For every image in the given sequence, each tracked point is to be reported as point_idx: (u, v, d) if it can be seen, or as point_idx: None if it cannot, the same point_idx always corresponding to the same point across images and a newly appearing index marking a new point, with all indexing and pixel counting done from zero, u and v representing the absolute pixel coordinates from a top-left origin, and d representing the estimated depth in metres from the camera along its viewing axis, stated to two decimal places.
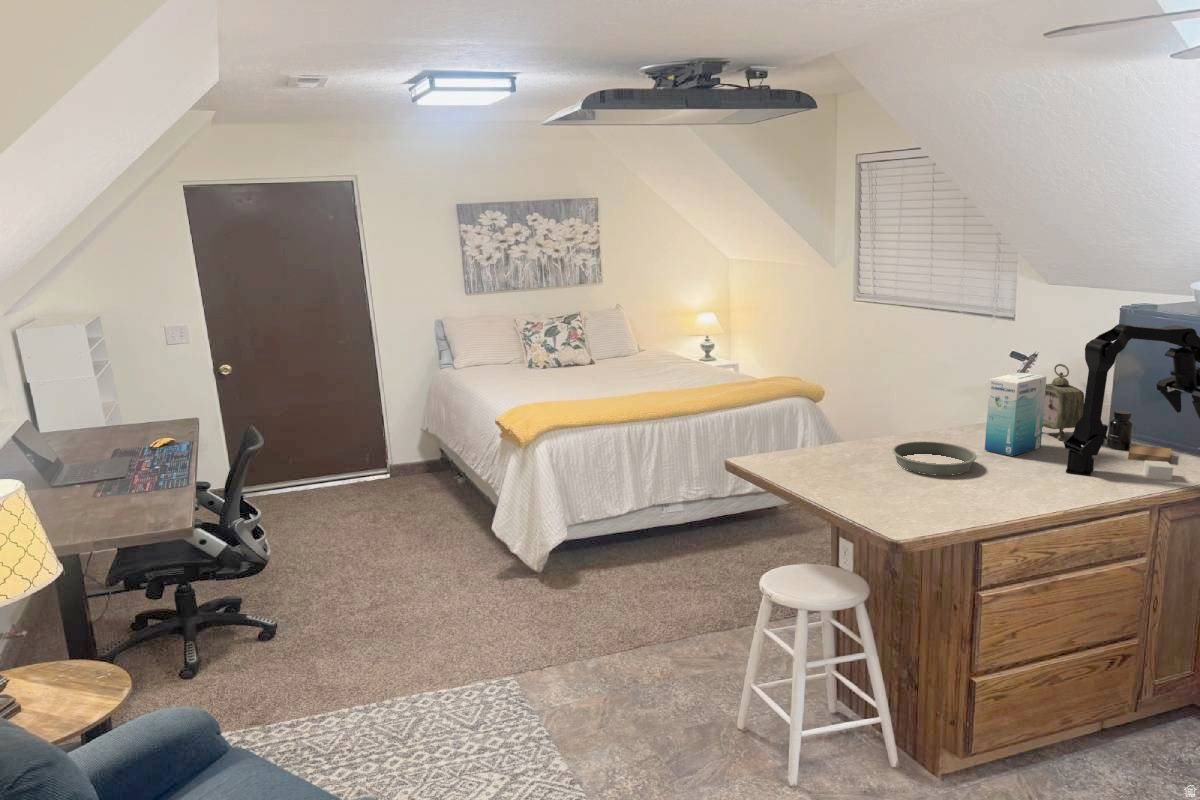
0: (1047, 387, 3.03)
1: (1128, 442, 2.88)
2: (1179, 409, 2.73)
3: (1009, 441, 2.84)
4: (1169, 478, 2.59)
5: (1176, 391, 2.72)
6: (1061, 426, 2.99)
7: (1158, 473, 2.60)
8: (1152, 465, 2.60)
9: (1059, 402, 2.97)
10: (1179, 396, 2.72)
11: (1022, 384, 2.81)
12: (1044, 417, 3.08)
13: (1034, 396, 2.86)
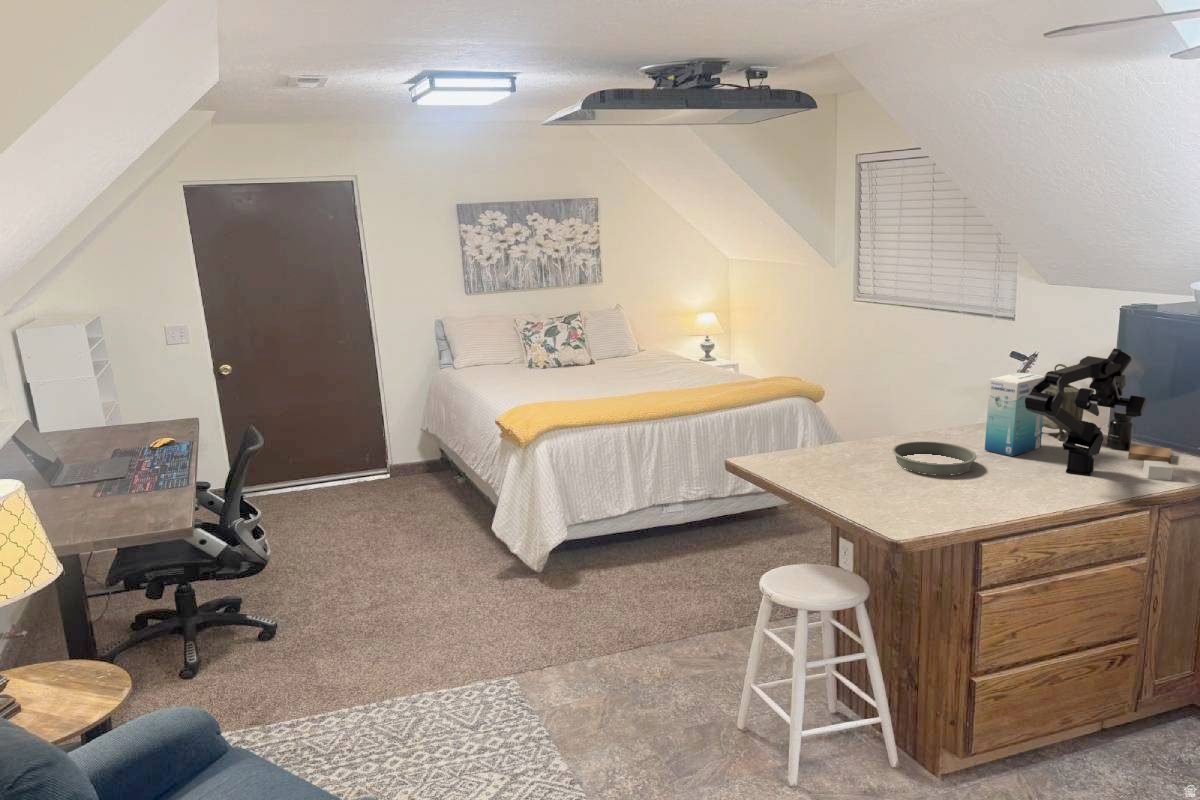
0: None
1: (1128, 442, 2.88)
2: (1098, 413, 2.80)
3: (1009, 441, 2.84)
4: (1169, 478, 2.59)
5: None
6: None
7: (1158, 473, 2.60)
8: (1152, 465, 2.60)
9: None
10: None
11: (1022, 384, 2.81)
12: (1044, 417, 3.08)
13: None
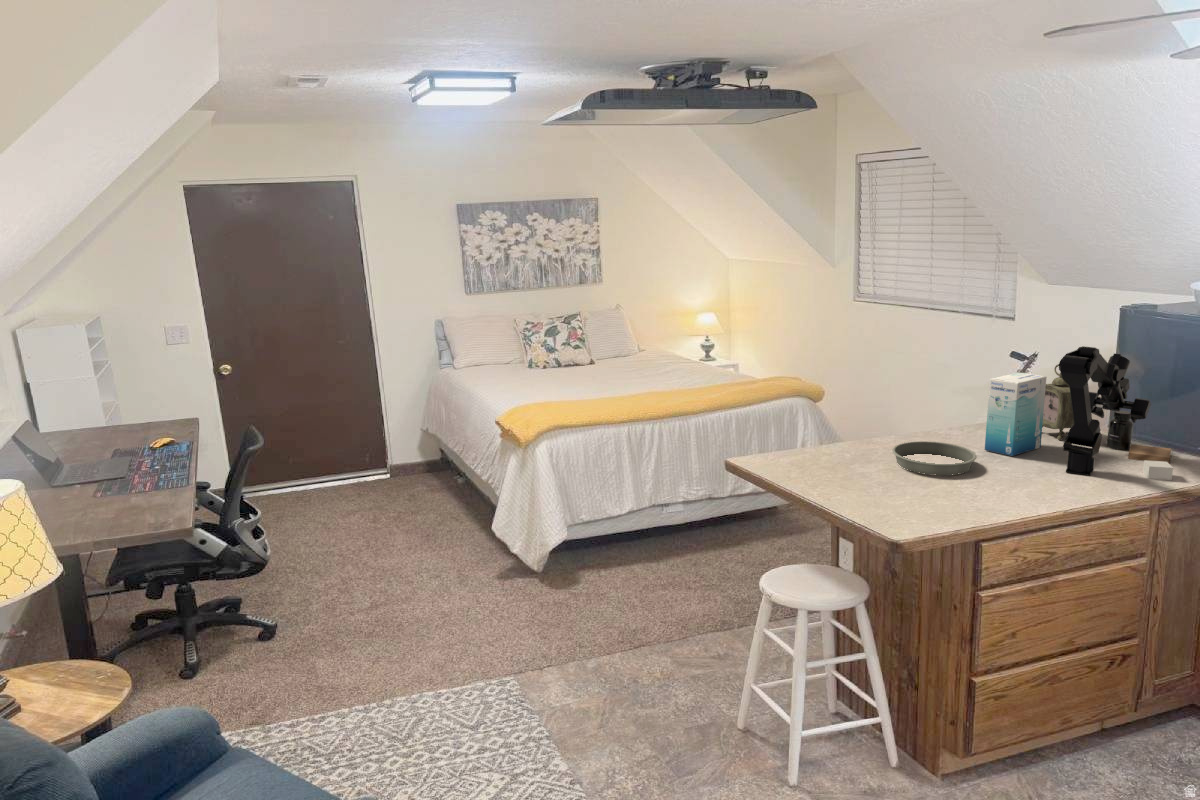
0: (1047, 387, 3.03)
1: (1128, 442, 2.88)
2: (1103, 415, 2.90)
3: (1009, 441, 2.84)
4: (1169, 478, 2.59)
5: None
6: (1061, 426, 2.99)
7: (1158, 473, 2.60)
8: (1152, 465, 2.60)
9: (1059, 402, 2.97)
10: None
11: (1022, 384, 2.81)
12: (1044, 417, 3.08)
13: (1034, 396, 2.86)
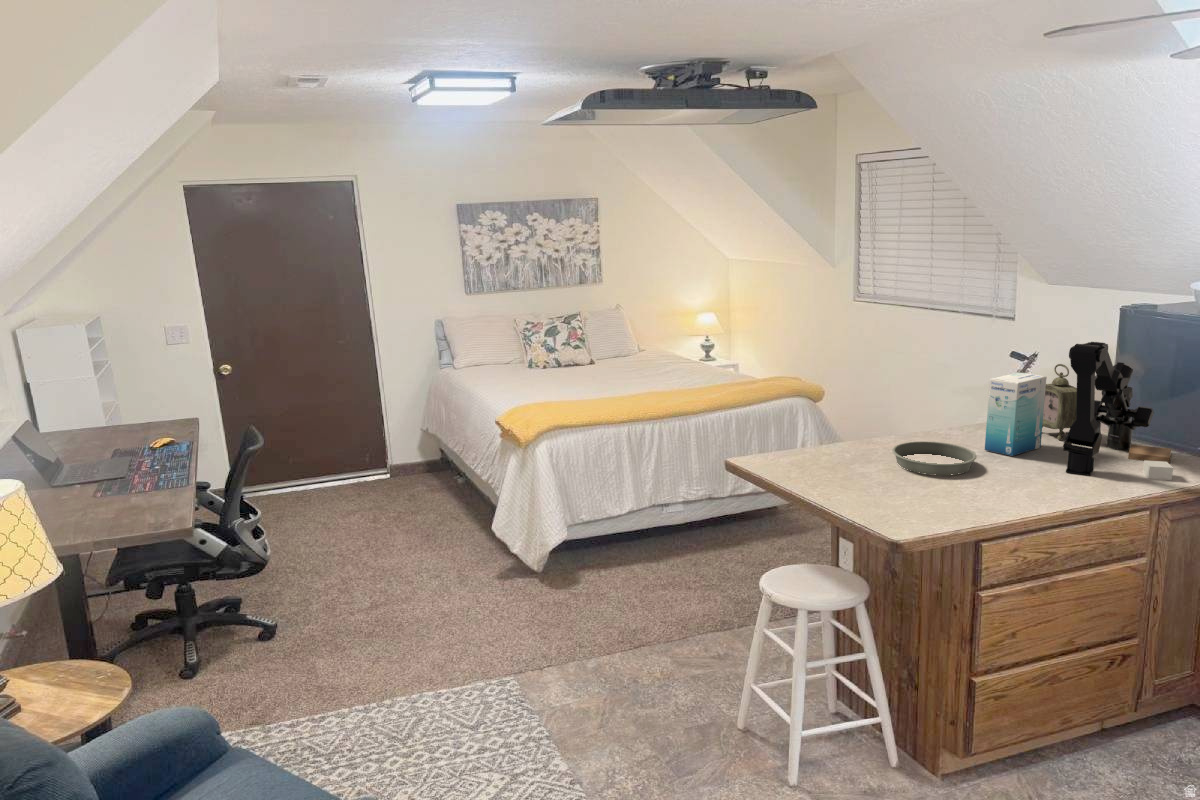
0: (1047, 387, 3.03)
1: (1128, 442, 2.88)
2: None
3: (1009, 441, 2.84)
4: (1169, 478, 2.59)
5: None
6: (1061, 426, 2.99)
7: (1158, 473, 2.60)
8: (1152, 465, 2.60)
9: (1059, 402, 2.97)
10: None
11: (1022, 384, 2.81)
12: (1044, 417, 3.08)
13: (1034, 396, 2.86)
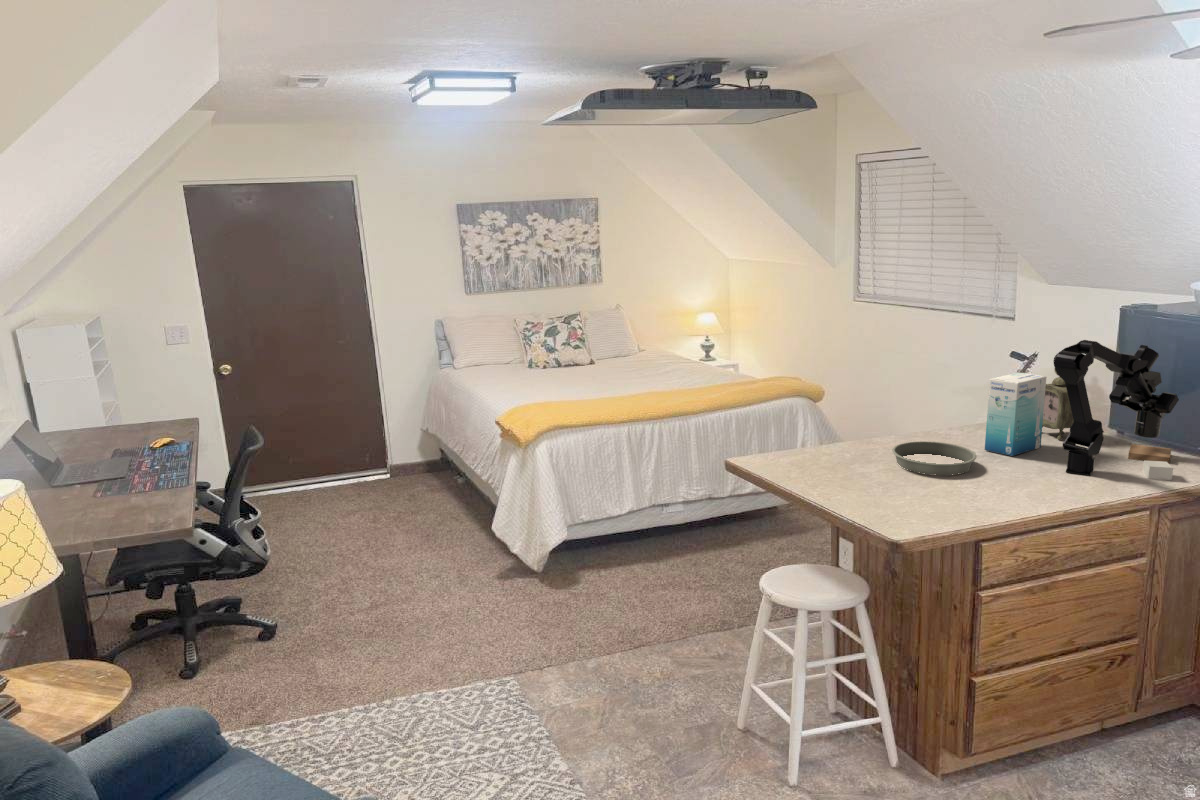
0: (1047, 387, 3.03)
1: (1155, 430, 2.78)
2: None
3: (1009, 441, 2.84)
4: (1169, 478, 2.59)
5: None
6: (1061, 426, 2.99)
7: (1158, 473, 2.60)
8: (1152, 465, 2.60)
9: (1059, 402, 2.97)
10: None
11: (1022, 384, 2.81)
12: (1044, 417, 3.08)
13: (1034, 396, 2.86)
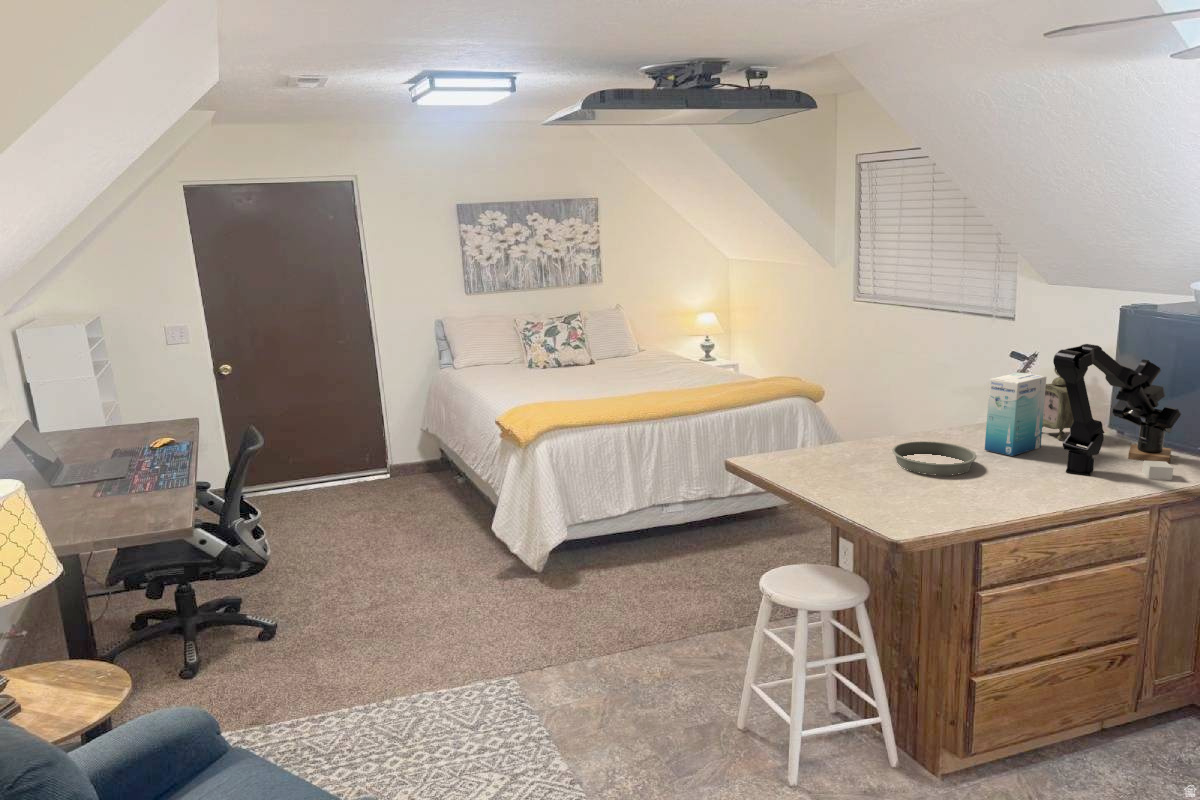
0: (1047, 387, 3.03)
1: (1157, 445, 2.77)
2: None
3: (1009, 441, 2.84)
4: (1169, 478, 2.59)
5: None
6: (1061, 426, 2.99)
7: (1159, 473, 2.60)
8: (1152, 465, 2.60)
9: (1059, 402, 2.97)
10: None
11: (1022, 384, 2.81)
12: (1044, 417, 3.08)
13: (1034, 396, 2.86)
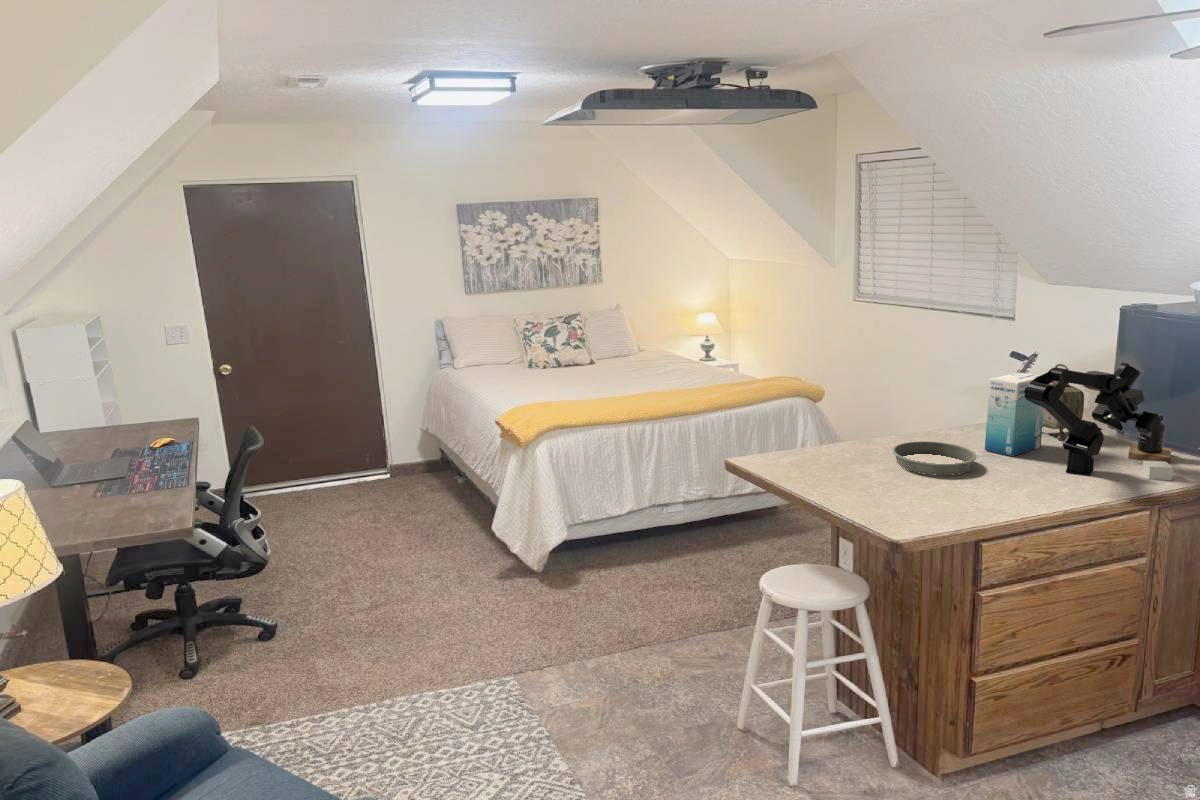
0: None
1: (1157, 445, 2.77)
2: (1121, 427, 2.79)
3: (1009, 441, 2.84)
4: (1169, 478, 2.59)
5: None
6: (1061, 426, 2.99)
7: (1159, 473, 2.60)
8: (1152, 465, 2.60)
9: None
10: None
11: (1022, 384, 2.81)
12: (1044, 417, 3.08)
13: None
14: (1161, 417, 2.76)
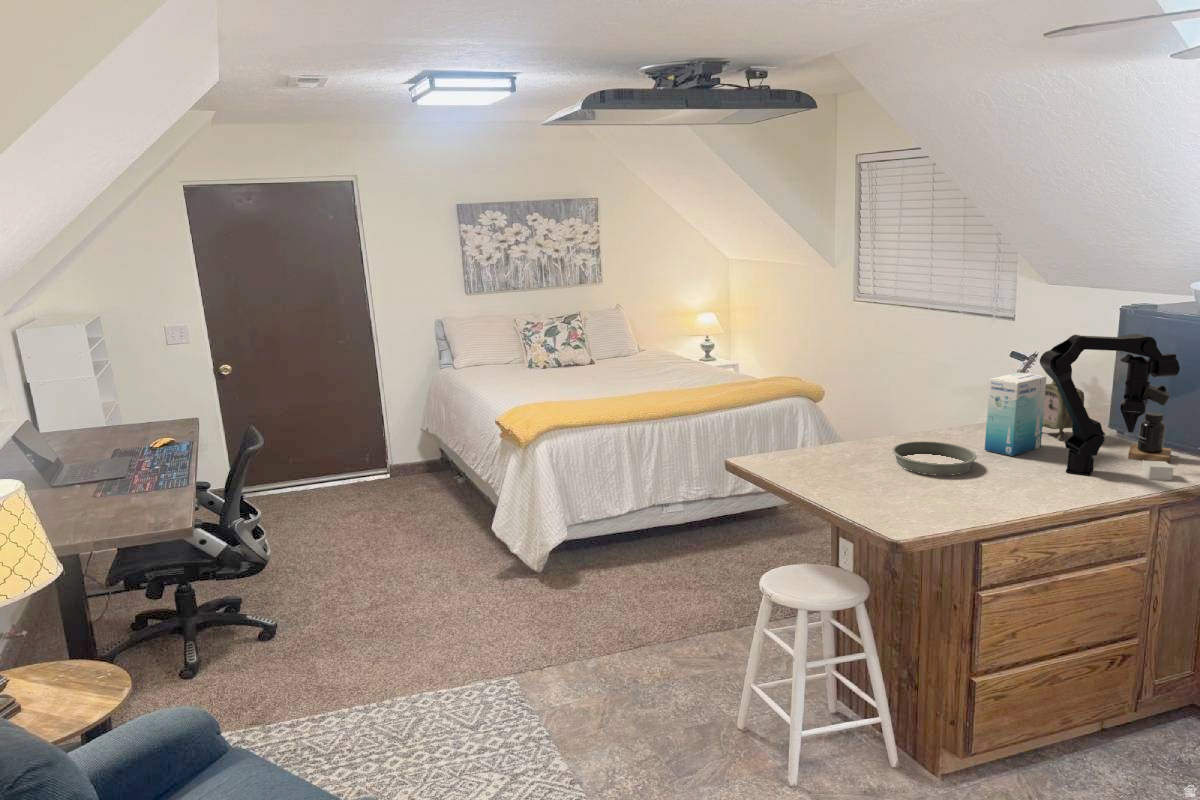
0: (1047, 387, 3.03)
1: (1157, 445, 2.77)
2: None
3: (1009, 441, 2.84)
4: (1169, 478, 2.59)
5: None
6: (1061, 426, 2.99)
7: (1159, 473, 2.60)
8: (1153, 466, 2.60)
9: (1059, 402, 2.97)
10: None
11: (1022, 384, 2.81)
12: (1044, 417, 3.08)
13: (1034, 396, 2.86)
14: (1161, 417, 2.76)
